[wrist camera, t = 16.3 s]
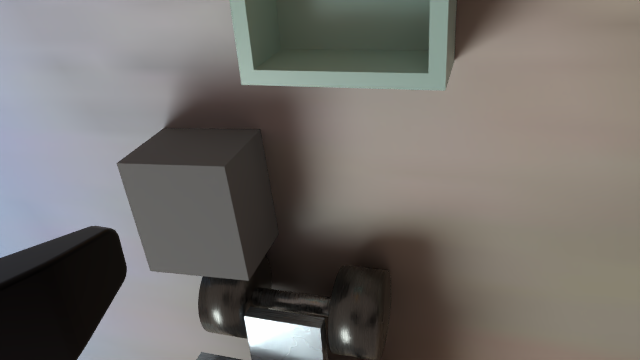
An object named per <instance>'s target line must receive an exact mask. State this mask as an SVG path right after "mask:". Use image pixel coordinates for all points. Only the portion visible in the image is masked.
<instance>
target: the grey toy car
mask: <svg viewBox="0 0 640 360" xmlns="http://www.w3.org/2000/svg"><path fill="white" fill-rule="evenodd" d="M271 287H272V276H271V268H270V264H269V262H268V260H267V258H266V257H265V256H264V258H263V259H262V261H261V263H260V264H259V266H258V267H257V269H256V270H255V272H254V274H253V275H252V277H251V278H250V280H249V281H246V280H236V279H226V278H216V277H206V276H203V278H202V281H201V285H200V290H199V299H198V310H199V317H200V321H201V324H202V326H203V328H204V329H205V330H206V331H208V332H212V333H218V334H223V335H229V336H235V337H241V338H247V339H248V341H249V347H250V353H251V358H252V360H328V353H327V341H326V330H325V319H324V318H322V317H315V316H309V315H302V314H296V313H289V312H283V311H276V310H270V309H268V308H274V309H280V310H287V311H293V312H300V313H306V314H313V315H319V316H326V317H329V319H328V341H329V347H330V350H331V352H332V353H334V354H339V355H345V356H351V357H357V358H363V359H368V360H379V359H380V358H381V355H382V352H383V349H384V345H385V341H386V336H387V330H388V324H389V316H390V305H391V277H390V273H389V271H388V270H380V269H372V268H364V267H356V266H348V265H344V266H342V268H341V269H340V271H339V273H338V275H337V277H336V280H335V284H334V287H333V292H332V296H331V297H324V296H317V295H310V294H303V293H296V292H289V291H282V290H275V289H271ZM197 360H241V359H236V358H230V357H225V356H219V355H214V354H209V353H203V352H201V354H200V355H199V357H198V358H197Z"/></svg>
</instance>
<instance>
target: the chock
mask: <svg viewBox="0 0 640 360" xmlns="http://www.w3.org/2000/svg"><path fill="white" fill-rule="evenodd" d="M117 166H118V169H119V172H120V175H121V179H122V182H123V185H124V188H125V191H126V194H127V198H128V201H129V204H130V207H131V210H132V214H133V217H134V220H135V223H136V226H137V230H138V233H139V236H140V239H141V242H142V245H143V249H144V252H145V255H146V258H147V261H148V265H149V268H150V271H156V272H166V273H176V274H186V275H196V276H206V277H216V278H226V279H236V280H246V281H249V280H250V278H251V277H252V275H253V274H254V272H255V270H256V269H257V267H258V266H259V264H260V263H261V261H262V259H263V258H264V256H265V255H266V253H267V252H268V250H269V248H270V247H271V245H272V244H273V242H274V241H275V239H276V237H277V236H278V234H279V233H278V227H277V222H276V216H275V210H274V205H273V199H272V193H271V188H270V182H269V176H268V170H267V165H266V159H265V153H264V148H263V142H262V136H261V131H260V129H162V130H161V131H160V132H158V133H157V134H156V135H154V136H153V137H151V138H150V139H149V140H147V141H146V142H145V143H143V144H142V145H141V146H139V147H138V148H137V149H135V150H134V151H133V152H131V153H130V154H129V155H127V156H126V157H125V158H123V159H122V160H121V161H119V162H118V163H117Z"/></svg>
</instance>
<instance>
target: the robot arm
mask: <svg viewBox="0 0 640 360" xmlns="http://www.w3.org/2000/svg"><path fill="white" fill-rule="evenodd" d="M126 272H127V266H126V262H125V258H124V254H123V250H122V247H121V243H120V239H119V236H118V234H117V232H116V231H115V230H113V229H112V228H106V227H100V226H90V227H87V228H84V229H81V230H79V231H76V232H73V233H70V234H67V235H64V236H62V237H59V238H56V239H53V240H50V241H47V242H44V243H42V244H39V245H36V246H33V247H30V248H27V249H25V250H22V251H19V252H16V253H13V254H10V255H8V256H5V257H2V258H0V360H77V359H78V357H79V356H80V354H81V353H82V351H83V350H84V348H85V346H86V345H87V343H88V341H89V340H90V338H91V336H92V335H93V333H94V331H95V330H96V328H97V326H98V324H99V323H100V321H101V319H102V318H103V316H104V314H105V312H106V311H107V309H108V307H109V306H110V304H111V302H112V301H113V299H114V297H115V295H116V294H117V292H118V290H119V289H120V287H121V285H122V283H123V282H124V280H125V277H126Z"/></svg>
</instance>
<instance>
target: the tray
mask: <svg viewBox="0 0 640 360" xmlns="http://www.w3.org/2000/svg"><path fill="white" fill-rule="evenodd" d="M229 1H230V8H231V15H232V22H233V29H234V36H235V43H236V50H237V57H238V64H239V71H240V78H241V85H267V86H302V87H338V88H373V89H409V90H446V87H447V83H448V80H449V77H450V73H451V70H452V67H453V63H454V54H455V30H456V7H457V0H229Z"/></svg>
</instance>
